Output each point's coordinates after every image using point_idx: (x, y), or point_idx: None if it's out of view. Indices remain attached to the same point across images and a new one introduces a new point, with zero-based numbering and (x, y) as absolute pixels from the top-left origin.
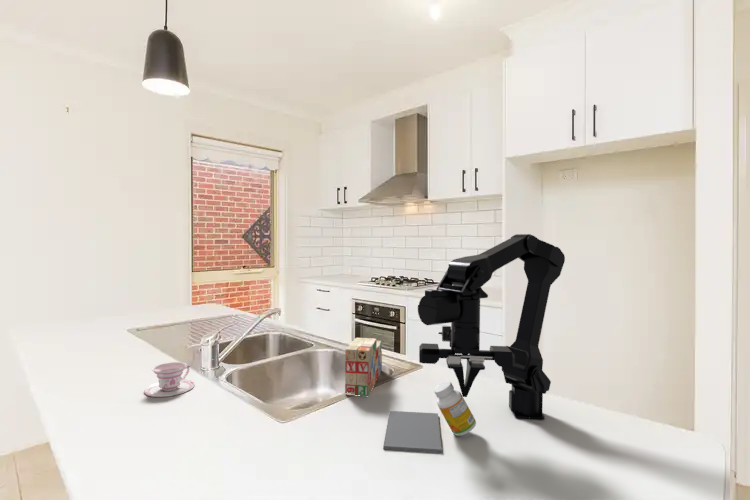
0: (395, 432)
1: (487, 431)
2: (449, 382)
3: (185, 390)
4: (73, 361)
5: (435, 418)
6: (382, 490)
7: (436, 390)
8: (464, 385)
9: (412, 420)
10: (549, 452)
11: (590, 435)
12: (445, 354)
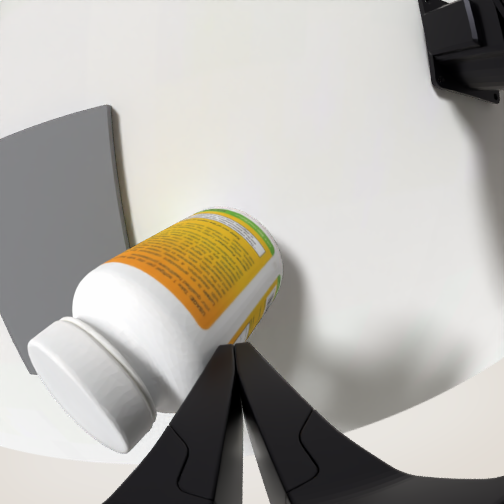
0: (17, 308)
1: (321, 206)
2: (110, 428)
3: None
4: None
5: (99, 163)
6: (102, 459)
7: (54, 395)
8: (241, 463)
9: (27, 210)
10: (447, 296)
11: None
12: None
